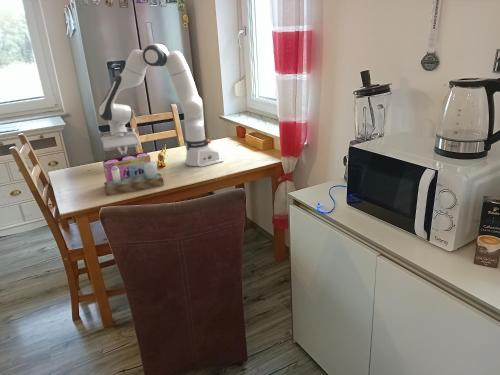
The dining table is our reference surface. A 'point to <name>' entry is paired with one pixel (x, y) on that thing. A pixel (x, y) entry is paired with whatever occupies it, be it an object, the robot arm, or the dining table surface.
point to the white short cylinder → (150, 170)
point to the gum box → (127, 165)
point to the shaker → (116, 175)
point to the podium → (132, 184)
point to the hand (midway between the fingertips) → (124, 154)
